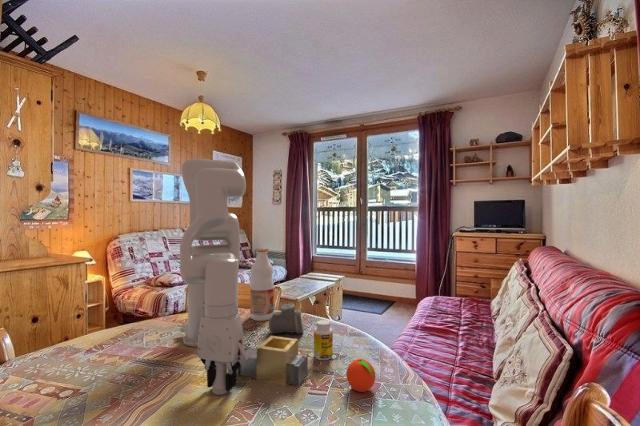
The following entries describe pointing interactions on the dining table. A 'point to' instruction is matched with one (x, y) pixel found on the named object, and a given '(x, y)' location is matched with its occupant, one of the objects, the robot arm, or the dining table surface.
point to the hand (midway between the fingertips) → (221, 385)
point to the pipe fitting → (286, 320)
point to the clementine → (360, 375)
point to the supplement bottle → (323, 340)
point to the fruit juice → (261, 287)
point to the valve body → (275, 362)
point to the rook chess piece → (220, 379)
